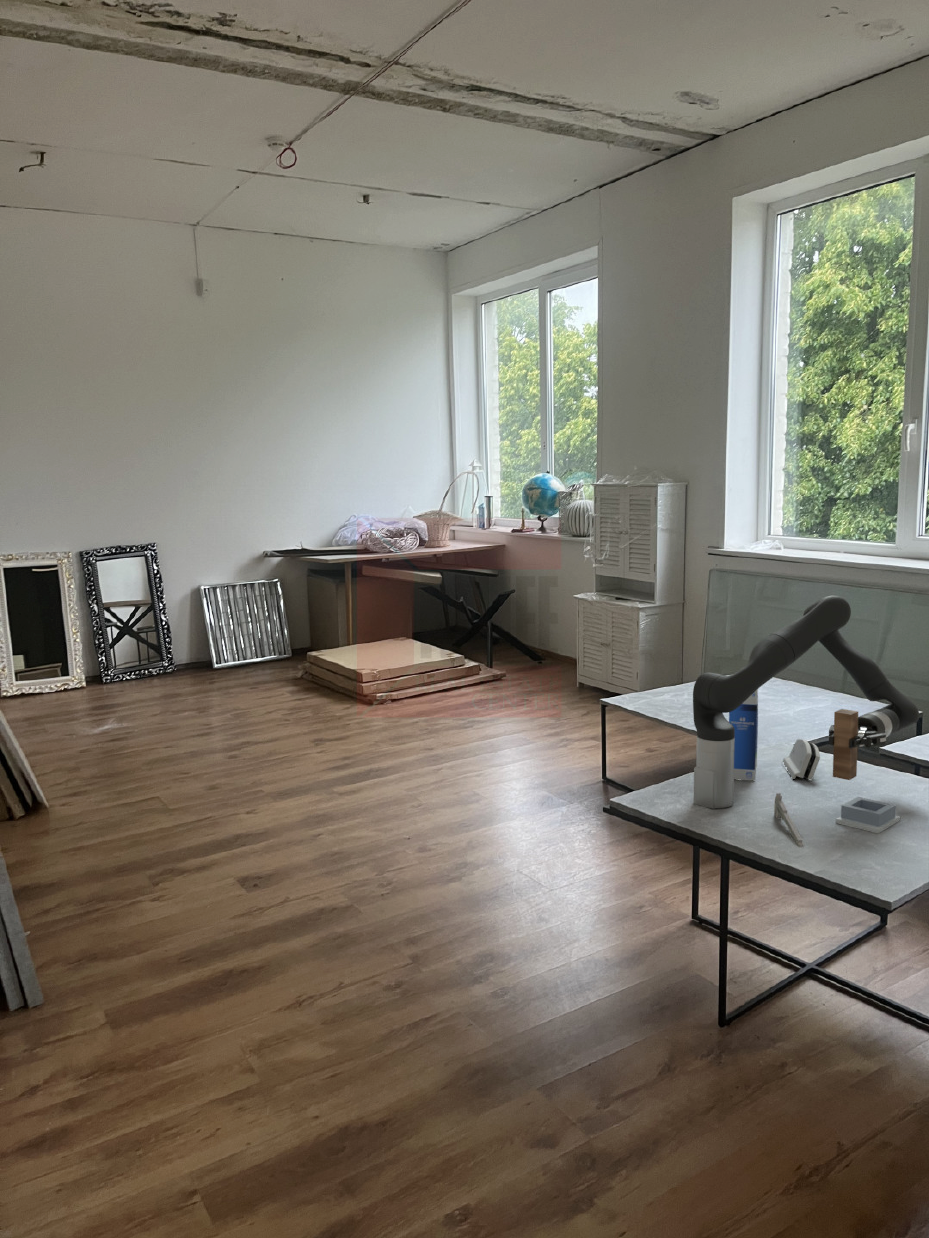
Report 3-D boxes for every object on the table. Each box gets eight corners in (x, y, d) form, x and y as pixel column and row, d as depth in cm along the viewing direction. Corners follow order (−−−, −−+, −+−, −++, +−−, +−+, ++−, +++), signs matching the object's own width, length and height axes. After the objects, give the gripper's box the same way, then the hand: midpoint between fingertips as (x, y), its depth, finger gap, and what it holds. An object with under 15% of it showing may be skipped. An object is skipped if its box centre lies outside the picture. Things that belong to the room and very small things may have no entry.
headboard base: (878, 833, 207) (879, 816, 207) (835, 822, 215) (836, 806, 214) (899, 820, 216) (900, 804, 215) (858, 810, 223) (858, 794, 222)
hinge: (781, 763, 264) (794, 731, 262) (797, 768, 263) (810, 737, 262) (792, 780, 248) (806, 747, 246) (809, 786, 247) (823, 753, 245)
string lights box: (729, 766, 262) (731, 678, 258) (757, 768, 259) (759, 679, 256) (727, 779, 249) (728, 687, 246) (756, 782, 247) (758, 689, 244)
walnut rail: (849, 780, 215) (851, 714, 213) (832, 776, 218) (834, 711, 216) (856, 776, 218) (858, 711, 216) (840, 772, 221) (841, 708, 218)
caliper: (773, 816, 221) (774, 791, 220) (778, 816, 221) (778, 791, 220) (799, 848, 201) (800, 820, 200) (804, 847, 200) (805, 820, 200)
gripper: (843, 709, 231) (812, 722, 219) (900, 718, 221) (871, 732, 209) (842, 738, 232) (811, 752, 220) (899, 748, 222) (870, 763, 210)
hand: (840, 742), depth 215 cm, fingers closed on walnut rail, 4 cm apart
